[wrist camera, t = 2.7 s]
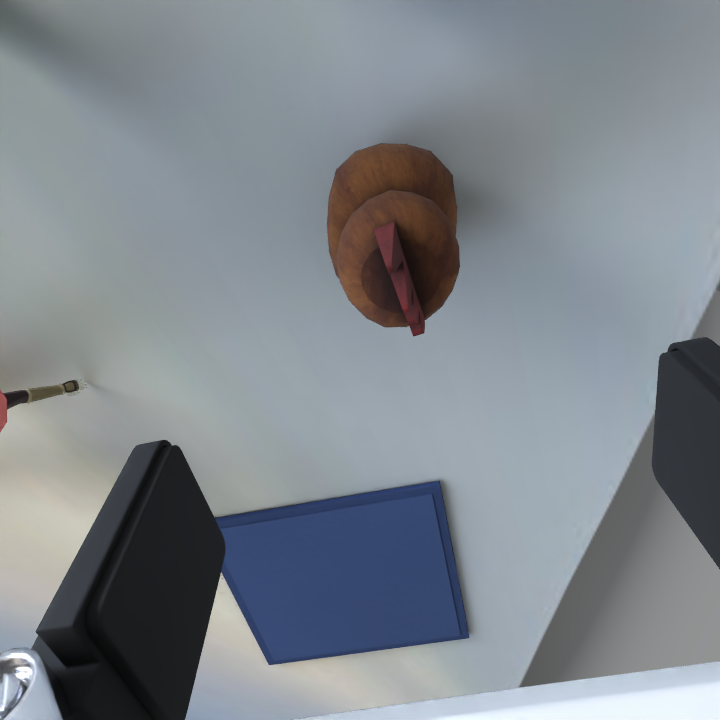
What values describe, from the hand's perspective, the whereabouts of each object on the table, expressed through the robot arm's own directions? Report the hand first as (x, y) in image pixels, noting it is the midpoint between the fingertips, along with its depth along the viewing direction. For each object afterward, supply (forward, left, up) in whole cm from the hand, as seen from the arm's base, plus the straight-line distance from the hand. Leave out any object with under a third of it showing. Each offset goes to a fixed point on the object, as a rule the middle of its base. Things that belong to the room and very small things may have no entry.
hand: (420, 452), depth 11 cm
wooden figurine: (0, 0, -21) cm, 21 cm away
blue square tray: (+9, +29, -21) cm, 37 cm away
